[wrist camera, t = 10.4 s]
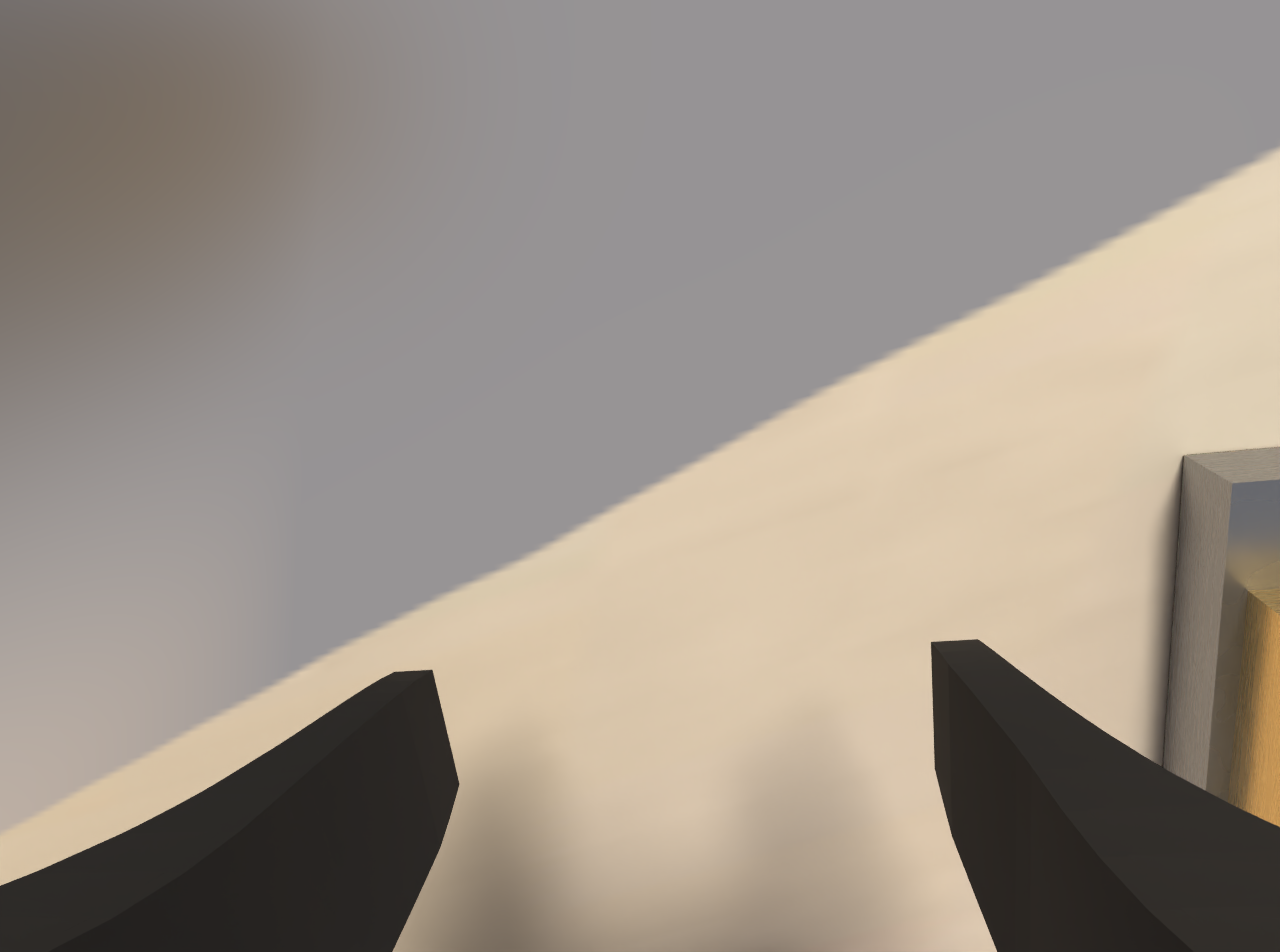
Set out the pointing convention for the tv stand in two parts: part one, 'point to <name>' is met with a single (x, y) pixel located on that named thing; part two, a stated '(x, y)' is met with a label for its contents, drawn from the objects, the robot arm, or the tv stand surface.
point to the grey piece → (1228, 631)
